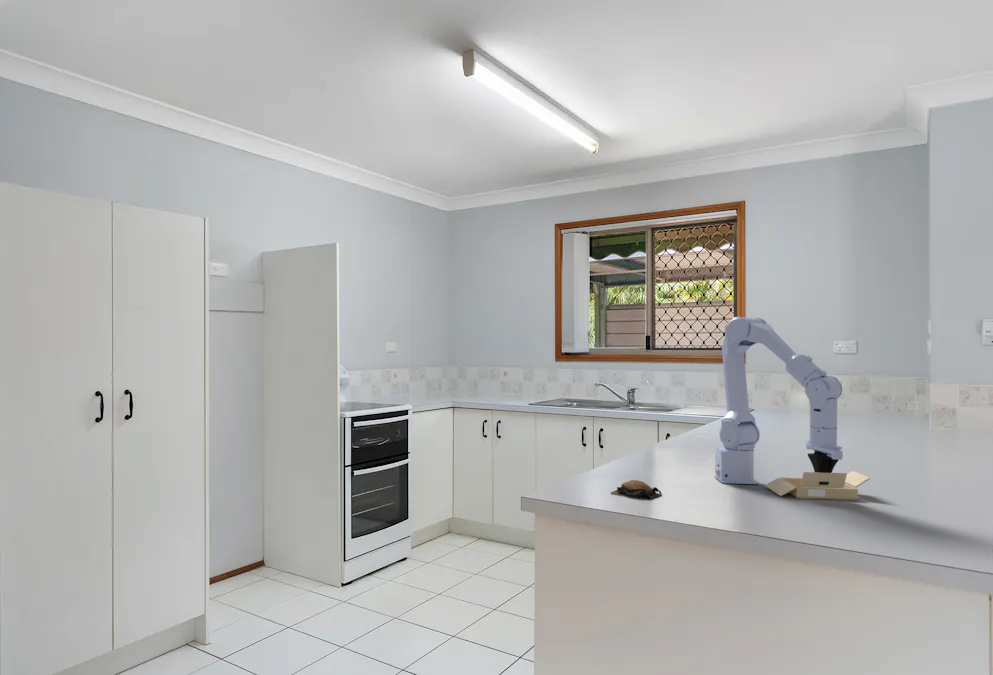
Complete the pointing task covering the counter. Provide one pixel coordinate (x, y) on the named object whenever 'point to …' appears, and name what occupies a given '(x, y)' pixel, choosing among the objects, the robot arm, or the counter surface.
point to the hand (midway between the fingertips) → (822, 484)
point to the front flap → (823, 479)
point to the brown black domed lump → (637, 490)
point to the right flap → (855, 479)
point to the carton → (811, 490)
